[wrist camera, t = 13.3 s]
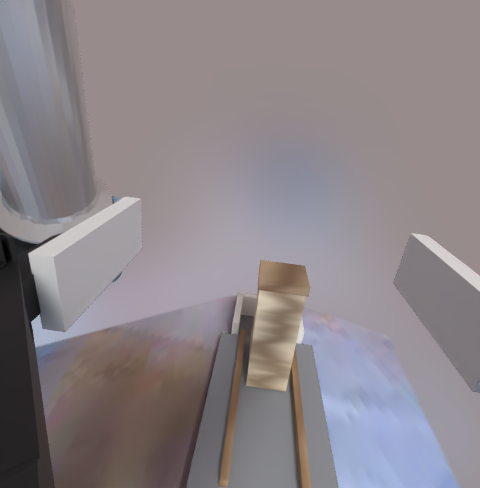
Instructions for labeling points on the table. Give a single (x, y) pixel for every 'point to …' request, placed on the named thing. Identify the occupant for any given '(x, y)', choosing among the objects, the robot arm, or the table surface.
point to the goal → (251, 316)
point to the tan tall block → (276, 324)
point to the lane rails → (298, 421)
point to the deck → (261, 427)
